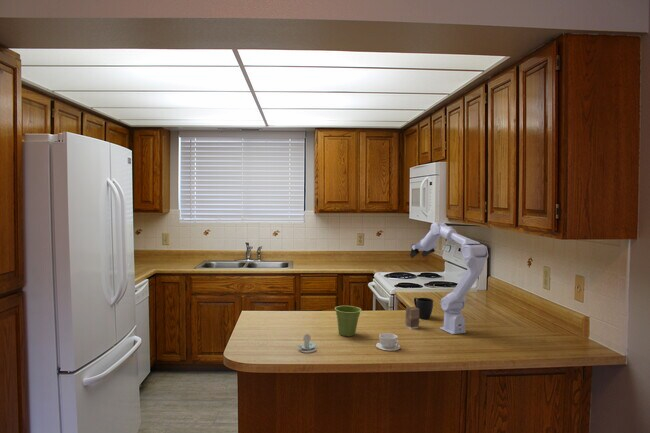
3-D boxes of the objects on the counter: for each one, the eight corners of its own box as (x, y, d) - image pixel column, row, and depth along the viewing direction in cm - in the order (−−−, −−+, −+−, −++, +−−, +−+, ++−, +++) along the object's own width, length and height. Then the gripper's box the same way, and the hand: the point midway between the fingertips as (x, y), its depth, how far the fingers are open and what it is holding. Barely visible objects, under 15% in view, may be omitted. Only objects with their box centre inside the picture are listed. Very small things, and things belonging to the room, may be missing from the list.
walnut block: (418, 327, 195) (419, 309, 195) (410, 328, 194) (411, 309, 193) (413, 325, 200) (413, 306, 199) (405, 326, 198) (405, 307, 197)
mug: (420, 313, 222) (421, 295, 221) (435, 319, 211) (436, 300, 210) (408, 314, 218) (409, 296, 218) (422, 320, 207) (423, 302, 207)
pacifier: (319, 352, 161) (312, 346, 167) (319, 336, 161) (313, 331, 166) (302, 355, 158) (296, 349, 163) (302, 338, 158) (296, 333, 163)
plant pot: (352, 340, 175) (353, 313, 175) (328, 334, 182) (329, 309, 181) (365, 333, 186) (366, 308, 185) (342, 328, 192) (342, 304, 191)
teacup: (370, 346, 169) (371, 335, 169) (385, 341, 176) (386, 330, 176) (390, 353, 162) (391, 341, 162) (405, 347, 169) (405, 336, 168)
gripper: (437, 233, 213) (424, 248, 223) (414, 234, 207) (402, 250, 216) (443, 244, 209) (430, 259, 219) (421, 245, 203) (408, 261, 212)
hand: (417, 255), depth 217 cm, fingers open, 7 cm apart
